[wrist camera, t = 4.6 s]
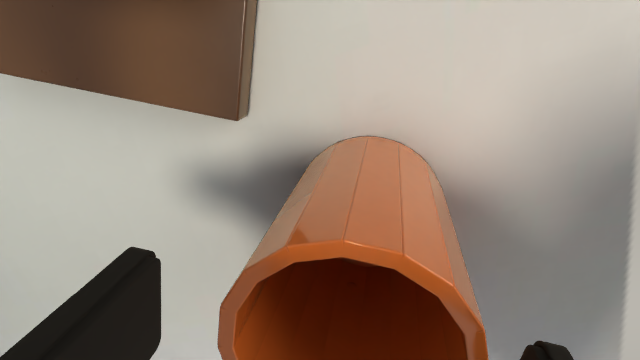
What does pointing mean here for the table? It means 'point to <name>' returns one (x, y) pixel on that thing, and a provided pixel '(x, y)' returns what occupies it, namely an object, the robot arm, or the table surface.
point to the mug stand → (136, 49)
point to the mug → (357, 268)
